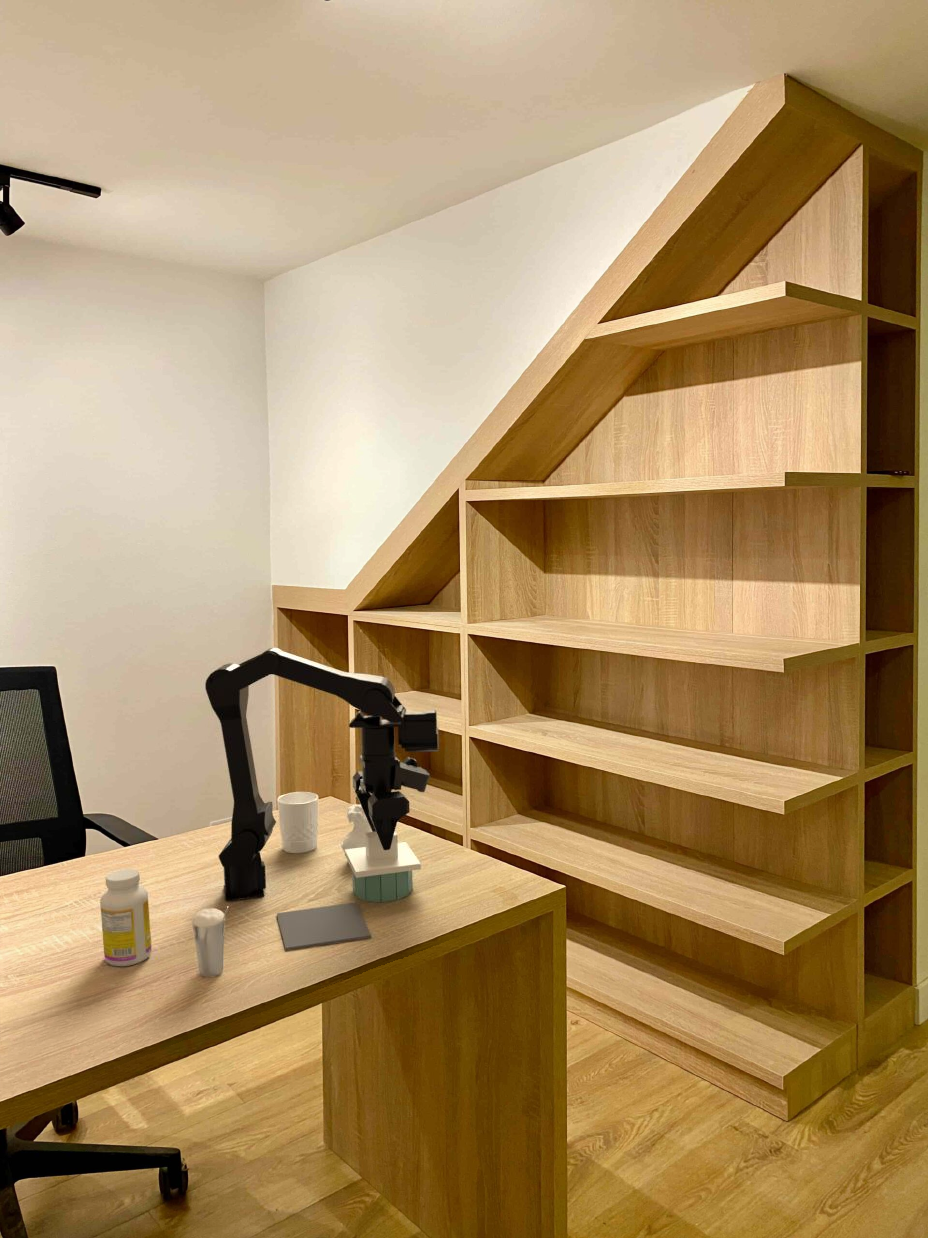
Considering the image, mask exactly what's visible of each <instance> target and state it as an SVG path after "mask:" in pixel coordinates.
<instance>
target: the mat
mask: <svg viewBox="0 0 928 1238" xmlns="http://www.w3.org/2000/svg"><path fill="white" fill-rule="evenodd" d="M276 918H277V922H278V924H279V929H280V933H281V937H282V941H283V946H284V948H285V949H284V950H285V951H292V950H298V949H305V948H313V947H319V946H326V945H331V944H337V943H344V942H345V943H346V942H351V941H357V940H364V939H365V940H366V939H371V938H372V934H371V931H370V929H369V927H368V924H367V923H366V921H365V919H364V917H363V914H362V913H361V909H360V908H359V906H358V904H357V902H349V903H342V904H341V903H340V904H335V905H334V904H333V905H326V906H319V907H313V908H304V909H297V910H291V911H282V912H277V913H276Z"/></svg>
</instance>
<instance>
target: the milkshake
mask: <svg viewBox="0 0 928 1238" xmlns="http://www.w3.org/2000/svg"><path fill="white" fill-rule="evenodd" d="M228 909H229V906H227V907H226V909H225V912H223V911H221V910H220V909H219V908H218V909H217V908H213V907H212V908H202V909H200V910H199V911H198V912H196V913H195V914H194V915H193V917H192V920H191V923H192V930H193V936H194V942H195V948H196V949H195V950H196V956H197V964H198V972H199V975H200V976H201V977H203V978H213V977H214V978H215V977H218V976H219V975H221V974H223V971H224V953H225V951H224V947H225V945H224V944H225V926H226V915H227V913H228V911H229V910H228Z"/></svg>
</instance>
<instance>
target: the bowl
mask: <svg viewBox="0 0 928 1238" xmlns="http://www.w3.org/2000/svg"><path fill="white" fill-rule="evenodd" d="M351 874H352V892H353V895H354V897H355V898H358V899H360V900H362V901H364V902H373V903H385V902H392V901H398V900H400V899H403V898H405V897H407V896H409V895H410V894H411V892H412V891H413V890H414V885H413V881H414V880H413V870H412V871H404V872H397V873H389V874H382V875H374V876H366V877H359V878H356V876H355V874H354V872H353V870H352V869H351Z"/></svg>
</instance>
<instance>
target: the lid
mask: <svg viewBox="0 0 928 1238" xmlns="http://www.w3.org/2000/svg"><path fill="white" fill-rule="evenodd" d="M365 845H366V847H362V848H353V849H345V852H344V856H345V858H346V860H347V862H348V864H349V866H350V869H351V871H352V870H353V872H354V874H355V876H356V878H359V877H366V876H374V875H382V874H389V873H397V872H404V871H412V872H413V871H418V870H421V869H422V864H421V862H420V861H419V859H418V857H417V856H416V855H415V853H414V852H413V850H412V849H411V848H410V846H409V844H408V843H407V842H406V841H404V842H403V841H402V842H398V833H396V831H395V832H394V836H393V840H392V844H391V848H390V850H384V849H383V847H382V845H381V842H380V840H379V837H378V835H377V833H376V832H368V833H365Z"/></svg>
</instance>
